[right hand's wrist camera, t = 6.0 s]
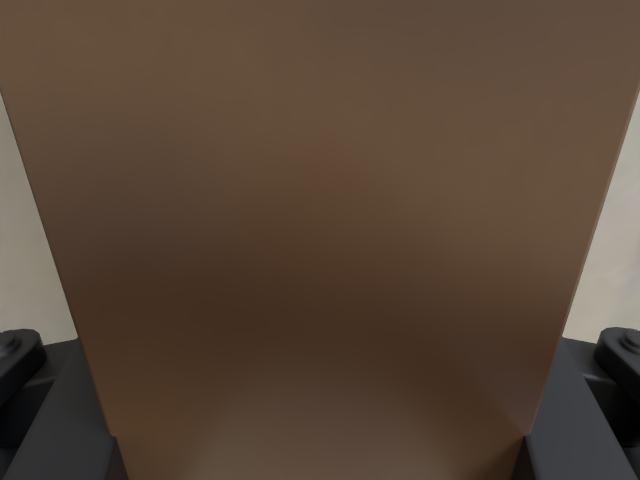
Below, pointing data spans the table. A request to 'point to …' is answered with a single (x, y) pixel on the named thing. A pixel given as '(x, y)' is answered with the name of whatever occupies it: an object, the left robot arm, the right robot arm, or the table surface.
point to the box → (319, 219)
